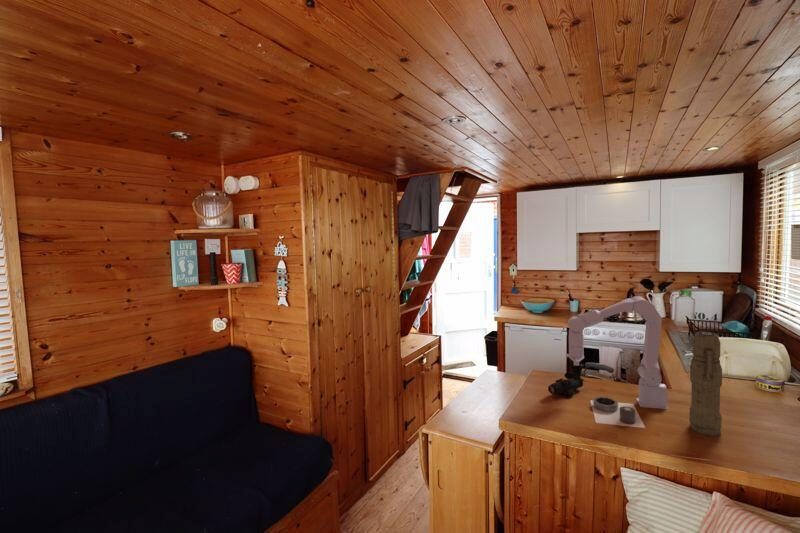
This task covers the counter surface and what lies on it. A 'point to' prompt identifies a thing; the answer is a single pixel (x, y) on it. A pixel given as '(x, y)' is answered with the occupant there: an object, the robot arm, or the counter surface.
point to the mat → (616, 416)
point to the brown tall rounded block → (706, 385)
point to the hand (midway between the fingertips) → (576, 376)
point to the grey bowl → (605, 404)
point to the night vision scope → (566, 385)
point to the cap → (627, 415)
